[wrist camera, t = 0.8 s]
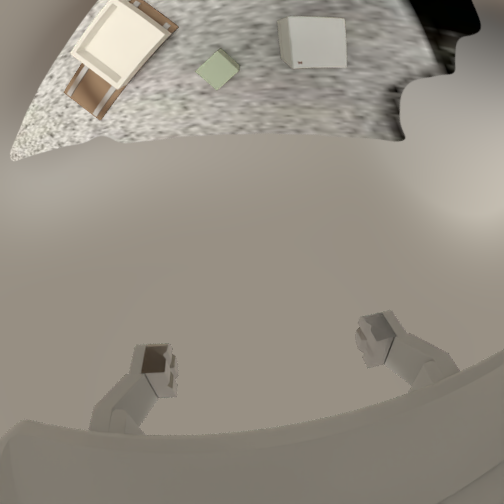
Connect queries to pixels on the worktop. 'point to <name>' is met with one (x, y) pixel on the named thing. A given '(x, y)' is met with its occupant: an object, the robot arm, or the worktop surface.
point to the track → (95, 87)
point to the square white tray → (119, 42)
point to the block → (218, 69)
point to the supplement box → (312, 42)
